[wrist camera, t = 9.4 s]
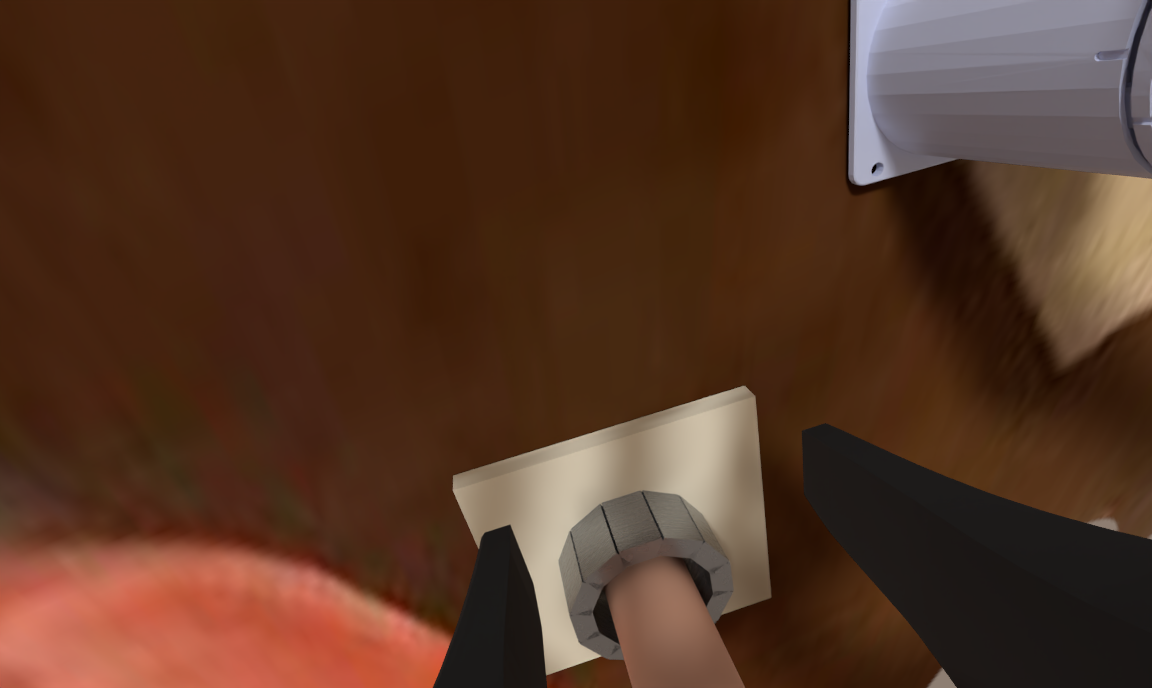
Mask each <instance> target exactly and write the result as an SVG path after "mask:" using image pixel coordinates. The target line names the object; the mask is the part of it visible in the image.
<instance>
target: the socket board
mask: <svg viewBox="0 0 1152 688" xmlns="http://www.w3.org/2000/svg"><path fill="white" fill-rule="evenodd" d="M453 492H454V494H455V496H456V499H457V501H458V503H459V505H460V508H461V510H462V512H463V514H464V517H465V519H466V521H467V524H468V526H469V528H470V530H471V533H472V535H473V537H474V539H475V542H476V544H477V546H478V549H479V546H480V541H481V537H482V536H483V534H484V533H485V532H488V531H491V530H494V529H497V528H500V527H504V526H507V525H511V527H512V530H513V532H514V535H515V538H516V540H517V543H518V545H519V548H520V550H521V553H522V555H523V558H524V561H525V563H526V566H527V568H528V571H529V573H530V576H531V578H532V581H533V584H534V588H535V594H536V599H537V604H538V609H539V615H540V620H541V626H542V634H543V645H544V657H545V669H546V675H548V674H551V673H554V672H557V671H560V670H563V669H566V668H569V667H571V666H574V665H577V664H580V663H583V662H586V661H589V660H592V659H595V658H598V657H600V656H603V657H604V658H606V659H608V658H609V659H618V660H624V657H623V653H622V650H621V646H620V643H619V639H618V636H617V632H616V629H615V625H614V622H613V618H612V615H611V612H610V608H609V605H608V601H607V598H606V594H605V591H604V586H605V585H606V584H608V583H609V582H610V581H611V580H612V579H614V578H615V577H616V576H617V575H618V574H620V573H621V572H622V571H623V570H624V569H626V568H627V567H628V566H631V565H634V564H637V563H640V562H643V561H646V560H650V559H653V558H656V557H659V556H669V557H682V558H683V560H684V562H685V564H686V567H687V569H688V571H689V573H690V575H691V577H692V579H693V581H694V583H695V585H696V587H697V589H698V591H699V593H700V595H701V598H702V600H703V602H704V604H705V606H706V608H707V610H708V612H709V614H710V616H711V618H712V620H713V622H714V624H715V623H716V621H718V619H719V618H720V616H721V615H722V614H725V613H728V612H731V611H734V610H737V609H740V608H743V607H746V606H749V605H752V604H754V603H757V602H760V601H763V600H766V599H769V598H771V587H770V574H769V562H768V549H767V537H766V524H765V512H764V499H763V487H762V474H761V462H760V449H759V437H758V424H757V412H756V399H755V396H754V395H753V394H752V393H751V392H750V391H749V390H748V389H747V388H746V387H745V386H742V387H738V388H735V389H732V390H729V391H726V392H722V393H719V394H716V395H713V396H709V397H706V398H703V399H700V400H696V401H693V402H690V403H687V404H684V405H680V406H677V407H674V408H671V409H667V410H664V411H661V412H658V413H654V414H651V415H648V416H645V417H641V418H638V419H635V420H632V421H629V422H625V423H622V424H619V425H616V426H612V427H609V428H606V429H603V430H599V431H596V432H593V433H590V434H587V435H583V436H580V437H577V438H574V439H570V440H567V441H564V442H561V443H557V444H554V445H551V446H548V447H544V448H541V449H538V450H535V451H532V452H528V453H525V454H522V455H519V456H515V457H512V458H509V459H506V460H502V461H499V462H496V463H493V464H490V465H486V466H483V467H480V468H477V469H473V470H470V471H467V472H464V473H460V474H457V475H454V476H453Z"/></svg>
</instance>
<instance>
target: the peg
mask: <svg viewBox="0 0 1152 688" xmlns="http://www.w3.org/2000/svg"><path fill="white" fill-rule="evenodd" d="M604 591H605V594H606V598H607V601H608V605H609V608H610V612H611V615H612V618H613V622H614V625H615V629H616V632H617V636H618V639H619V643H620V646H621V650H622V653H623V657H624V660H625V663H626V667H627V670H628V674H629V677H630V681H631V684H632V688H745V686H744V684H743V682H742V680H741V678H740V676H739V674H738V672H737V670H736V668H735V666H734V664H733V662H732V660H731V658H730V655H729V653H728V651H727V649H726V647H725V645H724V643H723V641H722V639H721V637H720V635H719V633H718V631H717V629H716V626H715V624H714V622H713V620H712V618H711V616H710V614H709V612H708V610H707V608H706V606H705V604H704V602H703V600H702V598H701V595H700V593H699V591H698V589H697V587H696V585H695V583H694V581H693V579H692V577H691V575H690V573H689V571H688V569H687V567H686V564H685V562H684V560H683V558H682V557H669V556H659V557H656V558H653V559H650V560H646V561H643V562H640V563H637V564H634V565H631V566H628V567H627V568H626V569H624V570H623V571H622V572H621V573H620V574H618V575H617V576H616V577H615V578H614V579H612V580H611V581H610V582H609V583H608V584H606V585H605V586H604Z"/></svg>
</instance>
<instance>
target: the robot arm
mask: <svg viewBox="0 0 1152 688" xmlns="http://www.w3.org/2000/svg"><path fill="white" fill-rule="evenodd" d="M956 159H966V160H976V161H986V162H995V163H1005V164H1015V165H1024V166H1034V167H1044V168H1054V169H1063V170H1073V171H1083V172H1092V173H1102V174H1112V175H1121V176H1131V177H1141V178H1151V179H1152V0H851V33H850V103H849V173H848V175H849V180H850V181H851V183H853V184H855V185H860V186H861V185H868V184H871V183H875V182H878V181H882V180H885V179H889V178H892V177H896V176H899V175H903V174H906V173H910V172H914V171H917V170H921V169H924V168H928V167H931V166H935V165H938V164H942V163H945V162H949V161H952V160H956ZM875 164H876V166H877V167H876V171H875V172H874V173H873V174H872V172H871V171H872V167H873V166H874V165H875ZM802 447H803V476H804V495H805V497H806V498H807V500H808V501H809V503H810V504H811V506H812V507H813V509H814V510H815V512H816V513H817V515H818V516H819V518H820V519H821V520H822V522H823V523H824V525H825V526H826V527H827V529H828V530H829V532H830V533H831V534H832V535H833V536H834V538H835V539H836V540H837V541H838V542H839V543H840V545H841V546H842V547H843V548H844V549H845V550H846V552H847V553H848V554H849V555H850V556H851V557H852V558H853V560H854V561H855V562H856V563H857V564H858V565H859V566H860V568H861V569H862V570H863V571H864V572H865V573H866V574H867V575H868V577H869V578H870V579H871V580H872V581H873V582H874V583H875V585H876V586H877V587H878V588H879V589H880V590H881V591H882V592H883V594H884V595H885V596H886V597H887V598H888V599H889V600H890V602H891V603H892V604H893V605H894V606H895V607H896V608H897V610H898V611H899V612H900V613H901V614H902V615H903V617H904V618H905V619H906V620H907V621H908V623H909V624H910V625H911V626H912V628H913V629H914V630H915V631H916V632H917V634H918V635H919V636H920V638H921V639H922V640H923V642H924V643H925V645H926V646H927V647H928V649H929V650H930V651H931V653H932V654H933V655H934V657H935V658H936V659H937V661H938V662H939V664H940V665H941V666H942V668H943V669H944V670H945V672H946V673H947V674H948V675H949V677H950V679H951V680H952V681H953V683H954V684H955V686H956V687H957V688H1152V540H1151V539H1147V538H1143V537H1139V536H1134V535H1130V534H1126V533H1122V532H1118V531H1114V530H1110V529H1106V528H1102V527H1098V526H1095V525H1091V524H1087V523H1084V522H1080V521H1076V520H1072V519H1069V518H1065V517H1062V516H1058V515H1055V514H1052V513H1048V512H1045V511H1042V510H1038V509H1035V508H1032V507H1029V506H1026V505H1023V504H1020V503H1017V502H1014V501H1011V500H1008V499H1005V498H1002V497H999V496H996V495H993V494H990V493H988V492H985V491H982V490H979V489H977V488H974V487H972V486H969V485H966V484H964V483H961V482H959V481H956V480H954V479H951V478H948V477H946V476H943V475H941V474H939V473H936V472H934V471H931V470H929V469H927V468H924V467H922V466H920V465H917V464H915V463H913V462H910V461H908V460H906V459H904V458H901V457H899V456H897V455H895V454H892V453H890V452H888V451H886V450H884V449H881V448H879V447H877V446H875V445H873V444H870V443H868V442H866V441H864V440H862V439H860V438H857V437H855V436H853V435H851V434H849V433H847V432H844V431H842V430H840V429H838V428H835V427H833V426H831V425H828V424H826V423H825V424H822V425H819V426H816V427H812V428H809V429H806V430H803V431H802ZM433 688H547V681H546V669H545V657H544V645H543V634H542V626H541V620H540V615H539V609H538V604H537V599H536V594H535V588H534V584H533V581H532V578H531V576H530V573H529V571H528V568H527V566H526V563H525V561H524V558H523V555H522V553H521V550H520V548H519V545H518V543H517V540H516V538H515V535H514V532H513V530H512V527H511V525H507V526H504V527H500V528H497V529H494V530H491V531H488V532H485V533H484V534H483V536H482V537H481V541H480V546H479V551H478V555H477V559H476V563H475V567H474V571H473V575H472V578H471V582H470V585H469V589H468V592H467V595H466V599H465V602H464V605H463V608H462V611H461V614H460V618H459V621H458V624H457V627H456V629H455V632H454V635H453V638H452V640H451V643H450V646H449V648H448V651H447V654H446V656H445V659H444V662H443V664H442V667H441V669H440V672H439V674H438V677H437V679H436V681H435V684H434V686H433Z"/></svg>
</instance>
